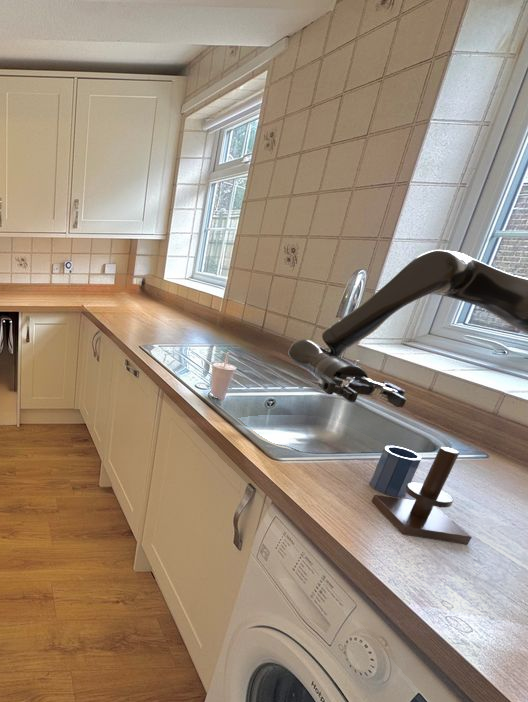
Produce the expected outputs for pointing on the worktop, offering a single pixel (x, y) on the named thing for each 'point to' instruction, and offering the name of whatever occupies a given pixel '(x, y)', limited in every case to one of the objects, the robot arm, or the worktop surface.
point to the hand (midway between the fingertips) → (378, 400)
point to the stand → (426, 504)
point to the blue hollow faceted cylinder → (395, 470)
